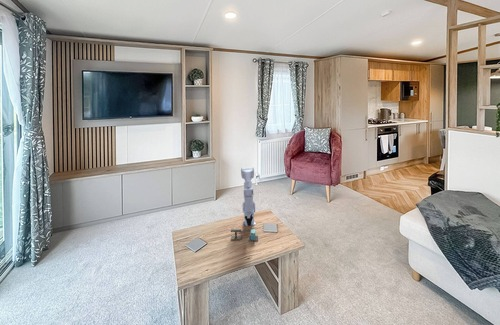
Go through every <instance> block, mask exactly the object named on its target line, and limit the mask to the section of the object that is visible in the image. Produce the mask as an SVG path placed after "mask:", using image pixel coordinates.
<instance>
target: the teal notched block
mask: <svg viewBox="0 0 500 325" xmlns="http://www.w3.org/2000/svg"><path fill="white" fill-rule="evenodd" d="M250 236H251V240H255V236H256V229H254V228H253V229H252V228H251V229H250Z"/></svg>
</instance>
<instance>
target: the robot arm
mask: <svg viewBox="0 0 500 325" xmlns="http://www.w3.org/2000/svg"><path fill="white" fill-rule="evenodd" d="M240 175H241V178H242V179H243V181H244V182H243V188H244V189H243V198H244V200H243V202H242V213H243V215H244V216H243V220H242V222H243V223H244V225H245V227H247V226H248V227H251V226H255V225H256V222H255V215H254V214H255V213H256V202H255V201H254V188H253V187H254V186H253V182H252V179H254V177H255V168H254V167H241V168H240Z"/></svg>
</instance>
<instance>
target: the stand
mask: <svg viewBox="0 0 500 325" xmlns="http://www.w3.org/2000/svg"><path fill="white" fill-rule="evenodd" d="M230 233H234V234H233V235H231V236H230V241H242V235H241V234H240V235H239V234H238V233H242V229H239V228H235V229H234V228H231V229H230Z"/></svg>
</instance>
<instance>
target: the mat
mask: <svg viewBox="0 0 500 325" xmlns="http://www.w3.org/2000/svg"><path fill="white" fill-rule="evenodd" d="M248 242H259V235H255V240H251V235H249V236H248Z"/></svg>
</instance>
